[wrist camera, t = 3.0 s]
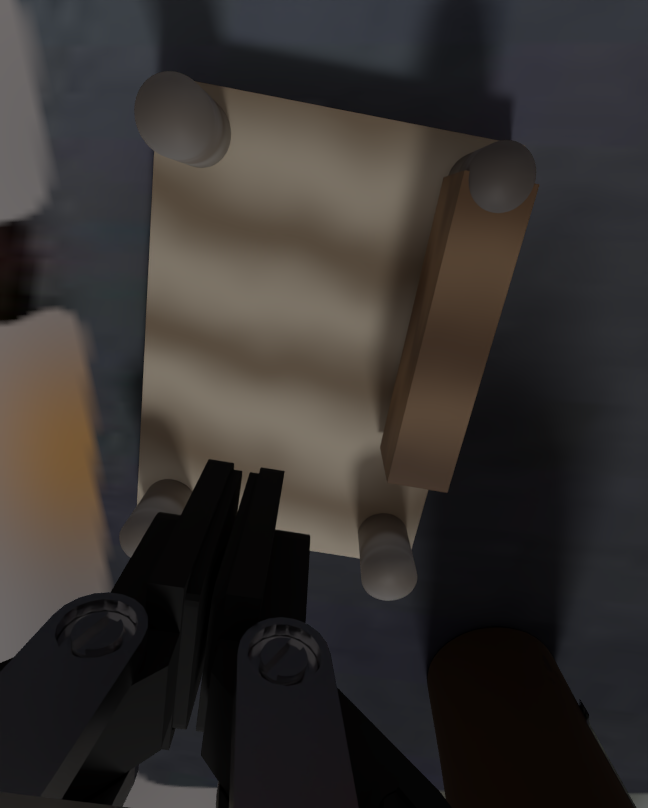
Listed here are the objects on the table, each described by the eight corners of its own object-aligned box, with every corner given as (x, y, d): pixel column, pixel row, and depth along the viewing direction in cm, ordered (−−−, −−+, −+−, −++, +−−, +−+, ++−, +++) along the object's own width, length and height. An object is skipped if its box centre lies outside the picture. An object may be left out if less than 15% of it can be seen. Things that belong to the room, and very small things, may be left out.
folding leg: (450, 146, 23) (473, 133, 19) (514, 158, 23) (550, 148, 19) (379, 447, 28) (387, 482, 24) (432, 456, 28) (447, 492, 25)
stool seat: (171, 84, 24) (123, 45, 19) (511, 150, 25) (562, 132, 20) (147, 506, 33) (109, 566, 27) (402, 546, 34) (416, 612, 28)
